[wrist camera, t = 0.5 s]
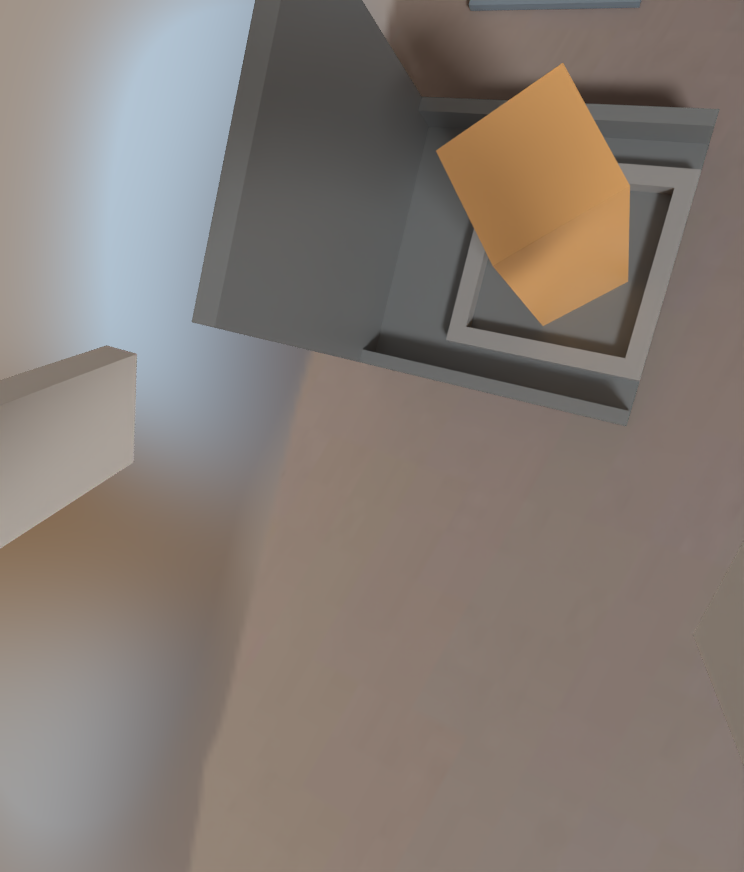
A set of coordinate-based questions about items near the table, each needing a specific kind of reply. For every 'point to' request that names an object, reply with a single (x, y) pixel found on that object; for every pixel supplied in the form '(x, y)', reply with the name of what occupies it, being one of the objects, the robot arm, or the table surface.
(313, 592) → the table surface
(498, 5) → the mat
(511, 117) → the module
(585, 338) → the case
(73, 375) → the robot arm
